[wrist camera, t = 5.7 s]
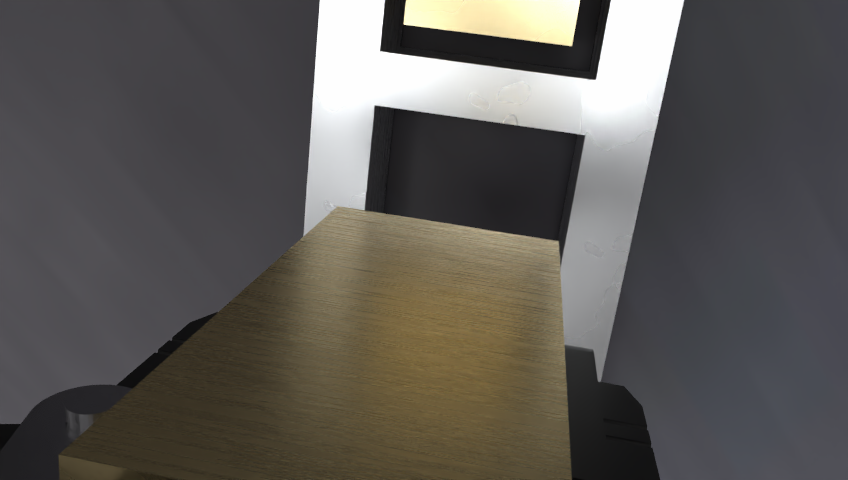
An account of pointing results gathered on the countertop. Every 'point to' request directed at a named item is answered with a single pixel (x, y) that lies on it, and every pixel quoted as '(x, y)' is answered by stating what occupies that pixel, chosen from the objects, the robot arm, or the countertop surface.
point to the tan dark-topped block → (360, 367)
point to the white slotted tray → (502, 117)
